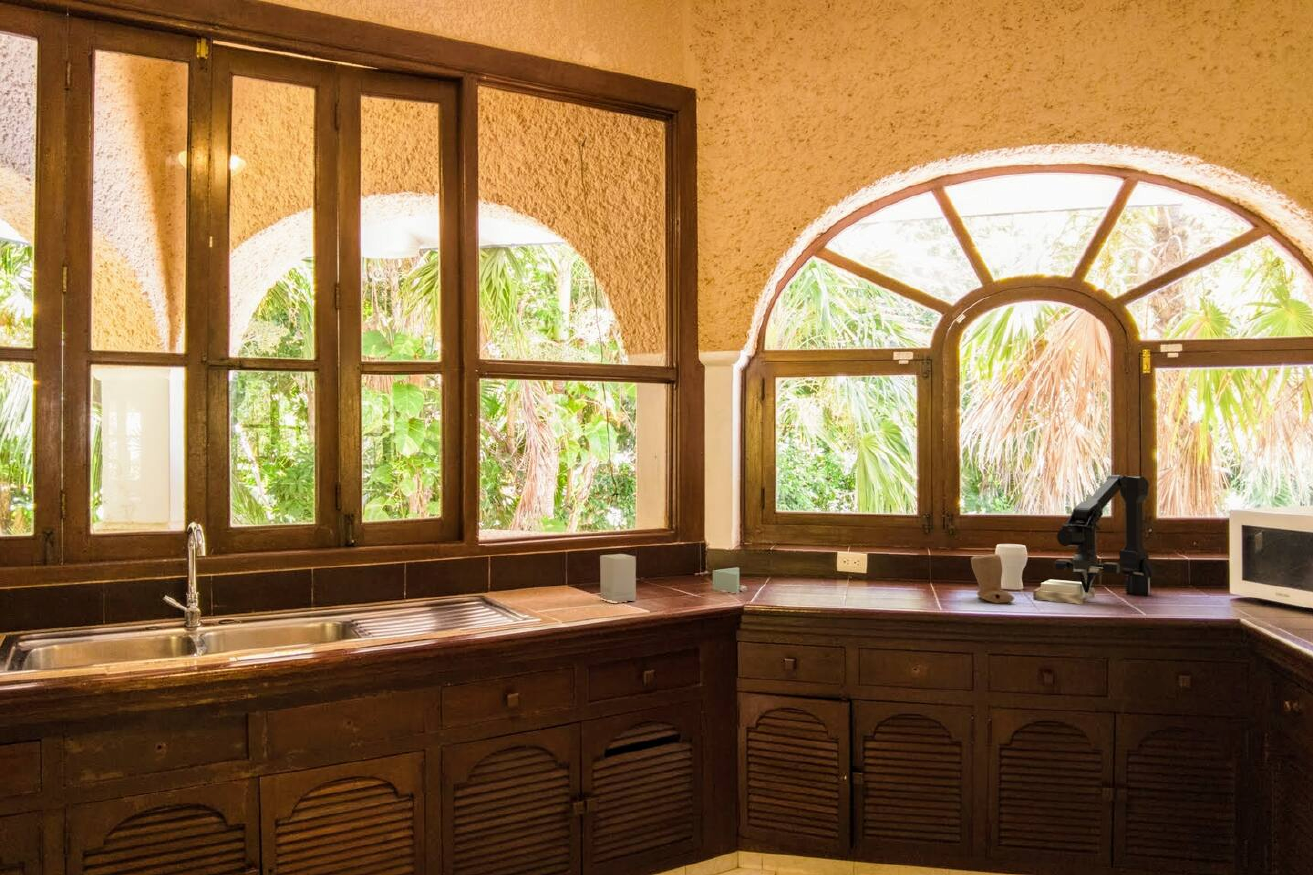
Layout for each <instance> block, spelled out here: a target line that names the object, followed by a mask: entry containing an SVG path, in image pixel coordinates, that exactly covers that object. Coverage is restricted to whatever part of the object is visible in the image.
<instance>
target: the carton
mask: <svg viewBox="0 0 1313 875" xmlns="http://www.w3.org/2000/svg"><path fill="white" fill-rule="evenodd" d="M1040 587H1041V591H1049V592H1060V593H1070V594H1081V595H1083V600H1084V599H1086V598H1087V597H1086V596H1085V591H1084V588H1083V585H1082V583H1081V581H1073V580H1063V579H1062V580H1061V579H1051V578H1050V579H1048V580H1045V581H1044V582H1040ZM1085 597H1086V598H1085Z"/></svg>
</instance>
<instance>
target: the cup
mask: <svg viewBox="0 0 1313 875" xmlns="http://www.w3.org/2000/svg"><path fill="white" fill-rule="evenodd" d="M994 551H995V552H994V554H995V555H996V554H998V555H999V556H1000V557H1001V562H1002V578H1001V588H1002V590H1016V591H1017V590H1023V589H1024V584H1023V579H1022V578H1023V571H1024V569H1025V567H1026V566H1027V562H1028V550H1027V546H1026V545H1023V544H1017V543H1016V544H1015V543H999V544H997V545H996V546H995V550H994Z"/></svg>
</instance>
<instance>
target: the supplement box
mask: <svg viewBox="0 0 1313 875" xmlns="http://www.w3.org/2000/svg"><path fill="white" fill-rule="evenodd" d="M599 560H600V561H599V563H600V564H599V568H600V576H599V577H600V579H599V580H600V583H599V584H600V599H601V598H603V599H606V600H612V601H617V600H618V601H619V600H635V599H637V590H636V588H637V586H636V585H637V579H636V578H637V576H636V572H637V570H636V569H637V568H636V567H637V566H636V565H637V564H636V555H635V556H634V555H629V554H626V553H625V554H624V553H617V554H603V555H600V556H599Z"/></svg>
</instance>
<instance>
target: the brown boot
mask: <svg viewBox="0 0 1313 875" xmlns="http://www.w3.org/2000/svg"><path fill="white" fill-rule="evenodd" d="M970 563H971V569H972V572H973V573H974V577H975V578H976V581H977V584H978V586H979V587H978V588H979V590H978V591H977V593H976V594H977V596H978V597H979V598H981V599H983V600H985V601H988V602H990V603H996V604H1003V603H1007V602H1012V601H1014V600H1015V597H1014V596H1013V595H1012V594H1011V593H1009V592H1008V591H1005V589H1003V588H1001V578H1002V562H1001V557H1000V556H999V555H998V554H996V555H995V553H994V554H993V553H991V554H985V555H975V556H972V557H971V558H970Z"/></svg>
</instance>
